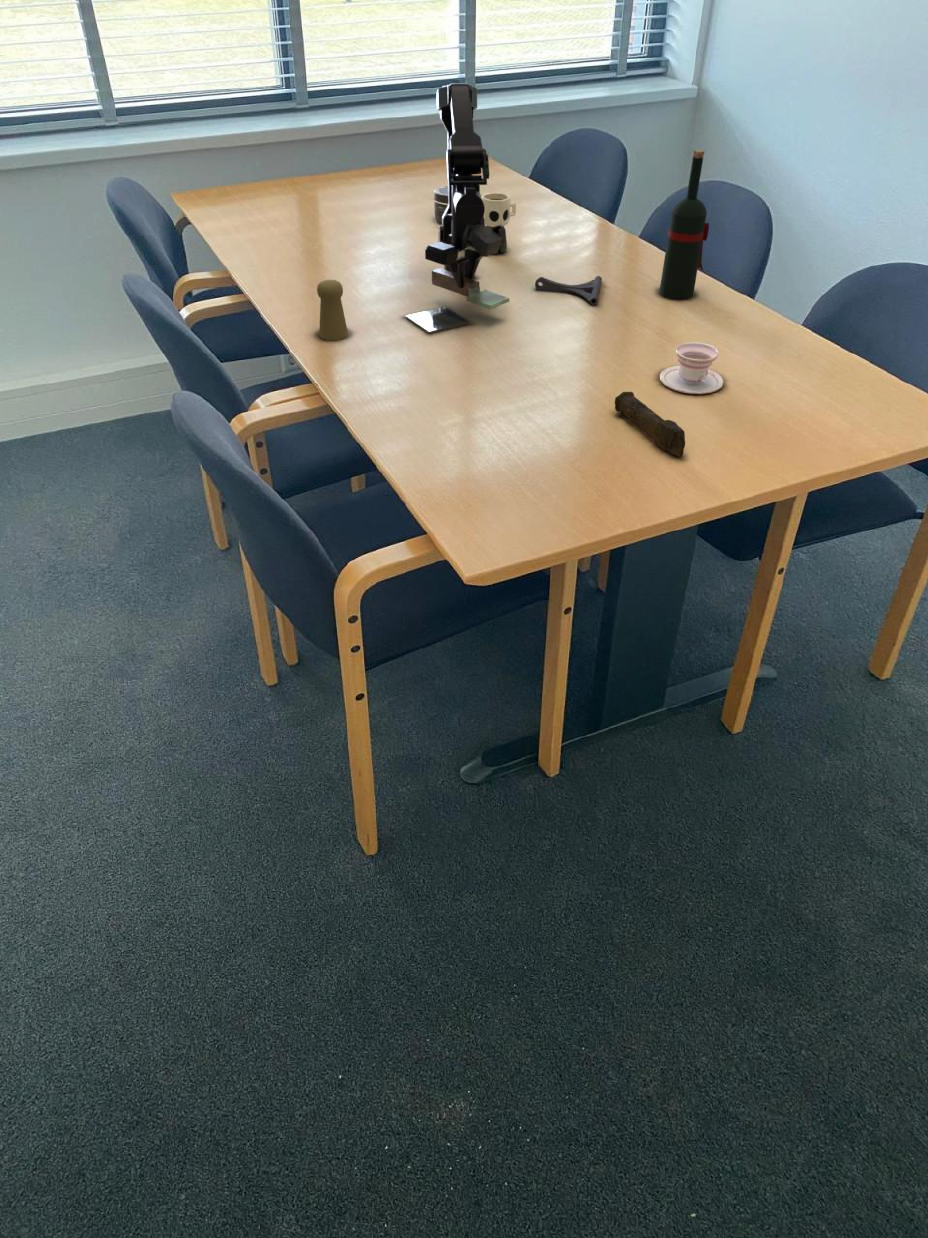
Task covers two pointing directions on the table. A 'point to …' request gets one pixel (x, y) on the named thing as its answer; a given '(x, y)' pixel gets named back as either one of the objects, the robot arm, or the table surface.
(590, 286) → the bracket
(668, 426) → the dark brown long bar
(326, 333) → the olive brown pawn
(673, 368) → the teacup
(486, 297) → the spatula
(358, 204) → the table surface
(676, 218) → the wine bottle
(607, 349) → the table surface
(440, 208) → the jar
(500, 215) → the character mug
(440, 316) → the plate
